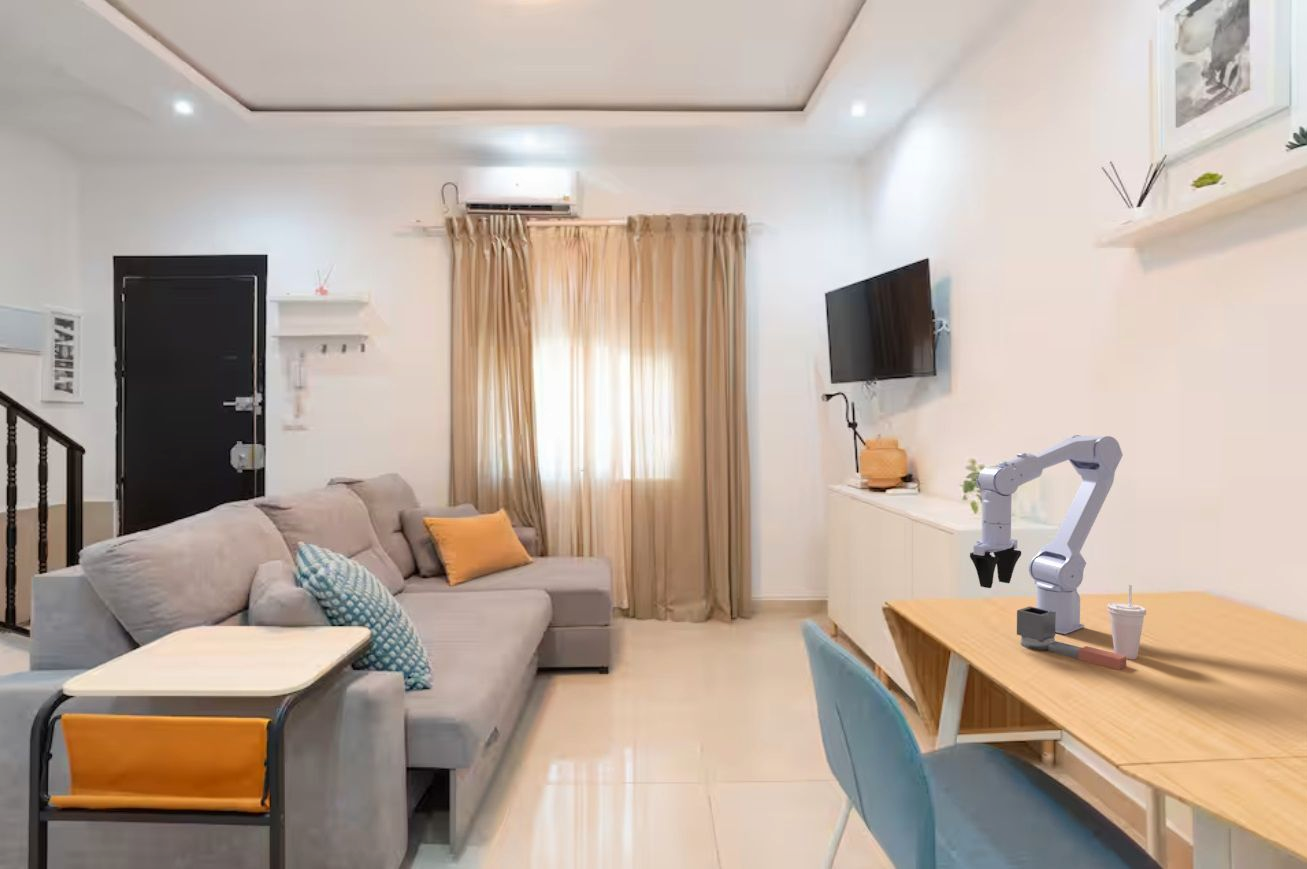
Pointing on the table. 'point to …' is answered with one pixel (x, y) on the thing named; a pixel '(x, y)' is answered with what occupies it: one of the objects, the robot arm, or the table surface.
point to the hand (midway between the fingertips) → (995, 584)
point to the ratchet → (1077, 652)
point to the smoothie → (1126, 626)
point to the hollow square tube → (1036, 623)
